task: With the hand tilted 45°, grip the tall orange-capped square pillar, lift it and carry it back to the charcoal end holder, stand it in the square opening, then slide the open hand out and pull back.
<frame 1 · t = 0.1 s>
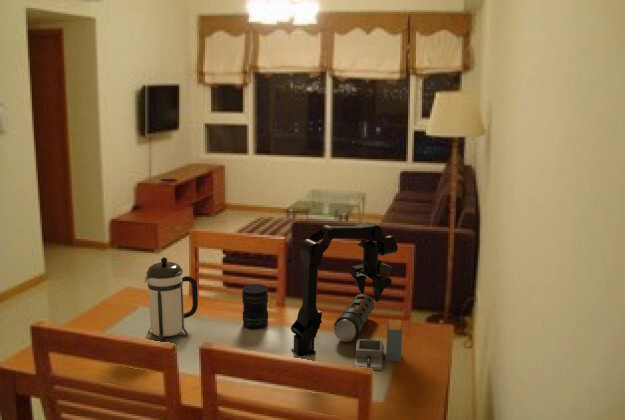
hand: (369, 297, 221), 15 cm above the table, tool pointing down, fingers open, 9 cm apart
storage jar: (255, 325, 233), on the table
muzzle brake: (354, 331, 228), on the table
end holder: (369, 355, 207), on the table
orange-capped square pillar: (393, 357, 206), on the table
coffee press: (170, 333, 225), on the table
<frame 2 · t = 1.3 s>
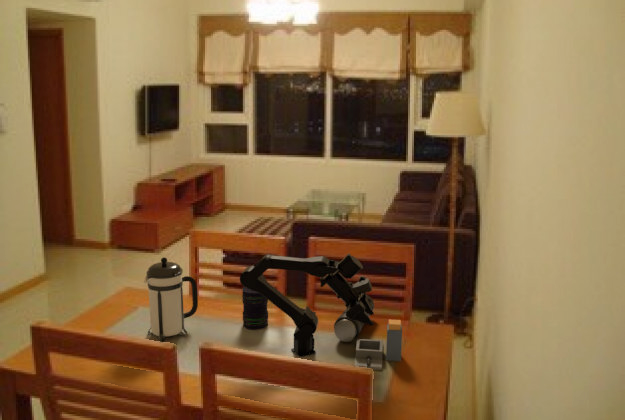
hand: (372, 319, 204), 13 cm above the table, tool tilted 45°, fingers open, 9 cm apart
nothing on the table moved.
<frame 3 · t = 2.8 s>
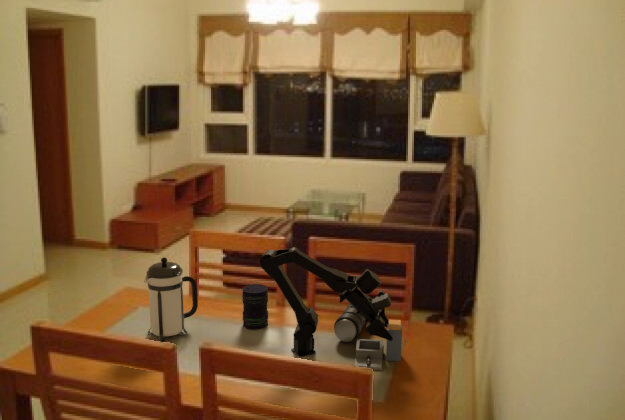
hand: (392, 334, 205), 9 cm above the table, tool tilted 45°, fingers open, 9 cm apart
nothing on the table moved.
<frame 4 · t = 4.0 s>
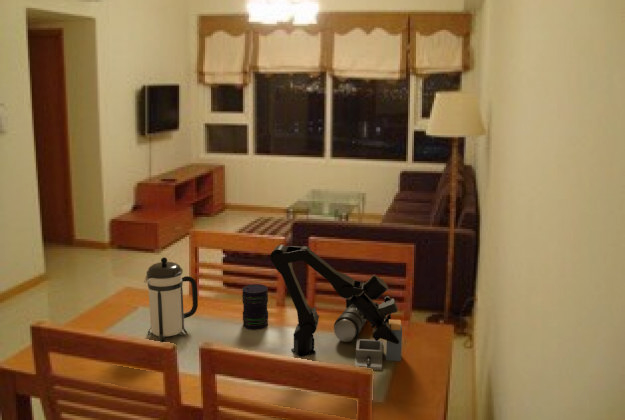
hand: (398, 339, 205), 7 cm above the table, tool tilted 45°, fingers closed on orange-capped square pillar, 5 cm apart
orange-capped square pillar: (393, 357, 206), on the table, touching gripper
everything else where it was.
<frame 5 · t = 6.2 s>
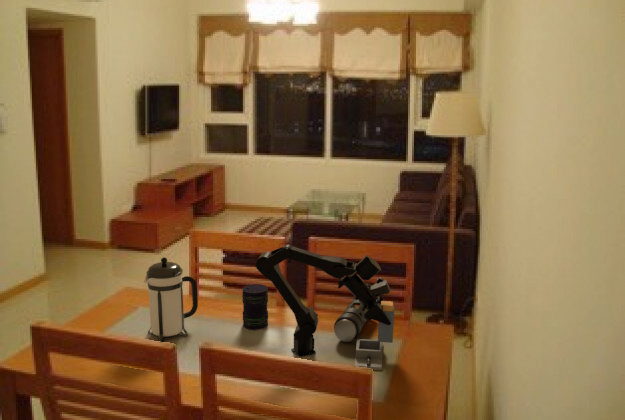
hand: (390, 321, 204), 13 cm above the table, tool tilted 45°, fingers closed on orange-capped square pillar, 5 cm apart
orange-capped square pillar: (385, 339, 205), point 7 cm above the table, touching gripper
everything else where it was.
when the fingers open (8 cm above the table, at t = 8.3 s): orange-capped square pillar stays where it is, resting on end holder.
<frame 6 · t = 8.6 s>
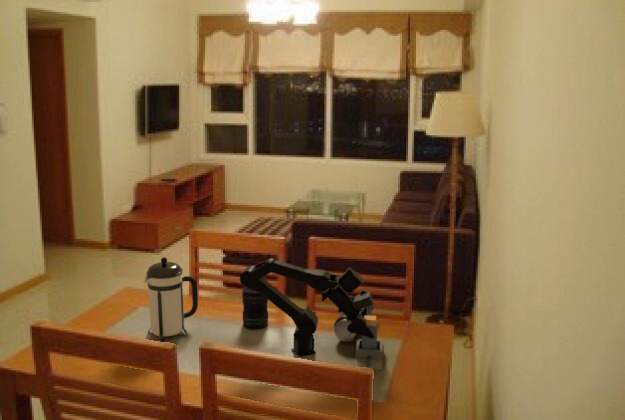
hand: (373, 332, 205), 9 cm above the table, tool tilted 45°, fingers open, 8 cm apart
orange-capped square pillar: (369, 353, 207), point 1 cm above the table, touching end holder
everything else where it was.
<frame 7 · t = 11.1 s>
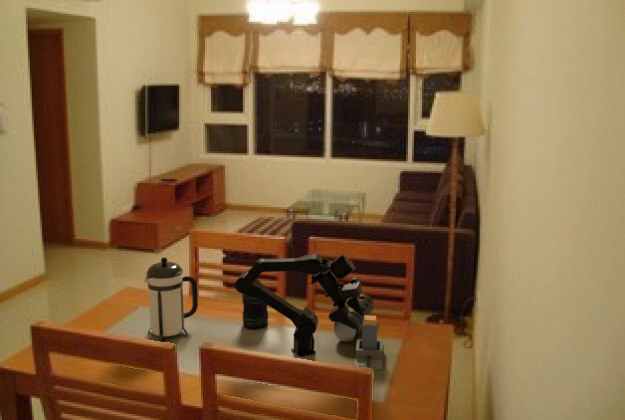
hand: (359, 321, 205), 12 cm above the table, tool tilted 40°, fingers open, 9 cm apart
nothing on the table moved.
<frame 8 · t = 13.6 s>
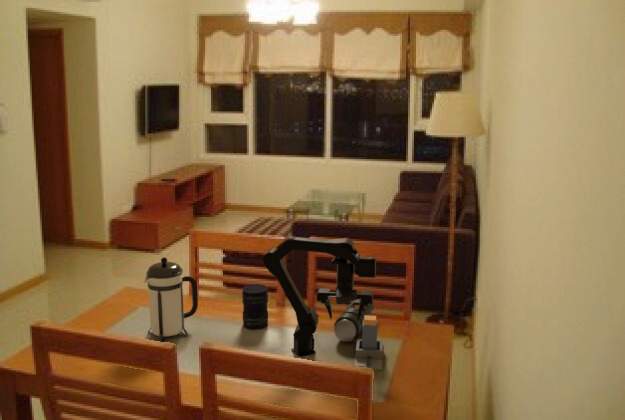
hand: (344, 319, 205), 13 cm above the table, tool pointing down, fingers open, 9 cm apart
nothing on the table moved.
at the end: orange-capped square pillar 0.0 cm off-centre on the end holder, point 1.0 cm above the end holder's base; orange-capped square pillar tilted 0°; the gripper is holding nothing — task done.
